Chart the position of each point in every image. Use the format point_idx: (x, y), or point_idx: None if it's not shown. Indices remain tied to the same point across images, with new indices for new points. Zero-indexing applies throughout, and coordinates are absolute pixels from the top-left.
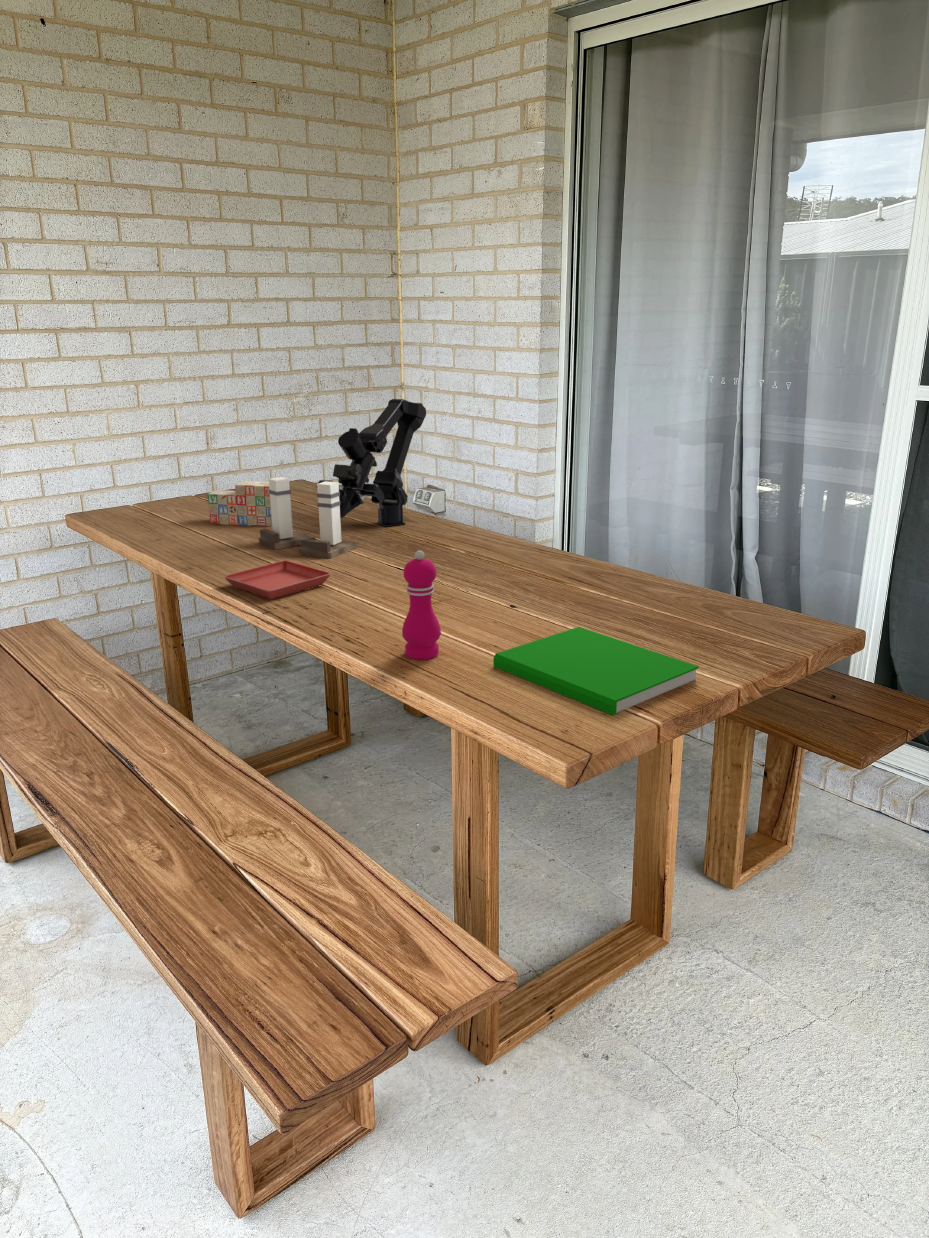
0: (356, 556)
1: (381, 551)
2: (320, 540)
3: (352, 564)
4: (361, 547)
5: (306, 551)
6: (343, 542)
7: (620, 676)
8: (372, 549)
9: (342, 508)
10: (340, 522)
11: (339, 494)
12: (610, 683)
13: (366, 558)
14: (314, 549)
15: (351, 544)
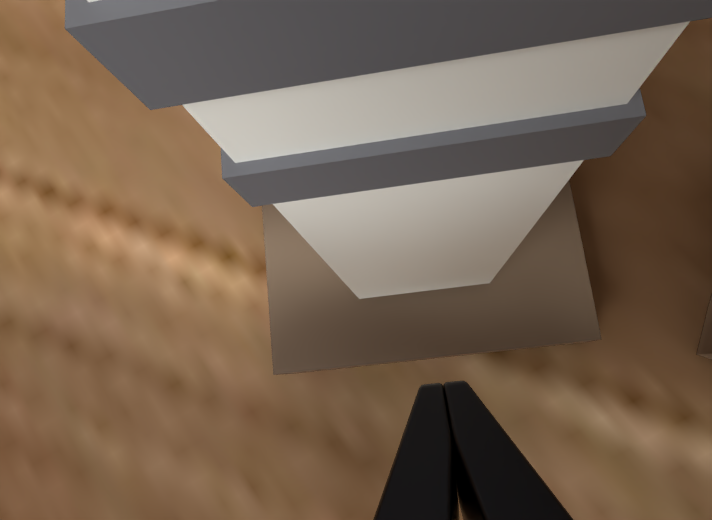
0: (147, 188)
1: (60, 385)
2: (585, 281)
3: (73, 38)
4: (253, 412)
5: None
6: (358, 323)
7: None
8: (146, 402)
9: (430, 478)
10: (329, 265)
11: (126, 68)
12: None
13: (64, 183)
14: None
15: (270, 316)
